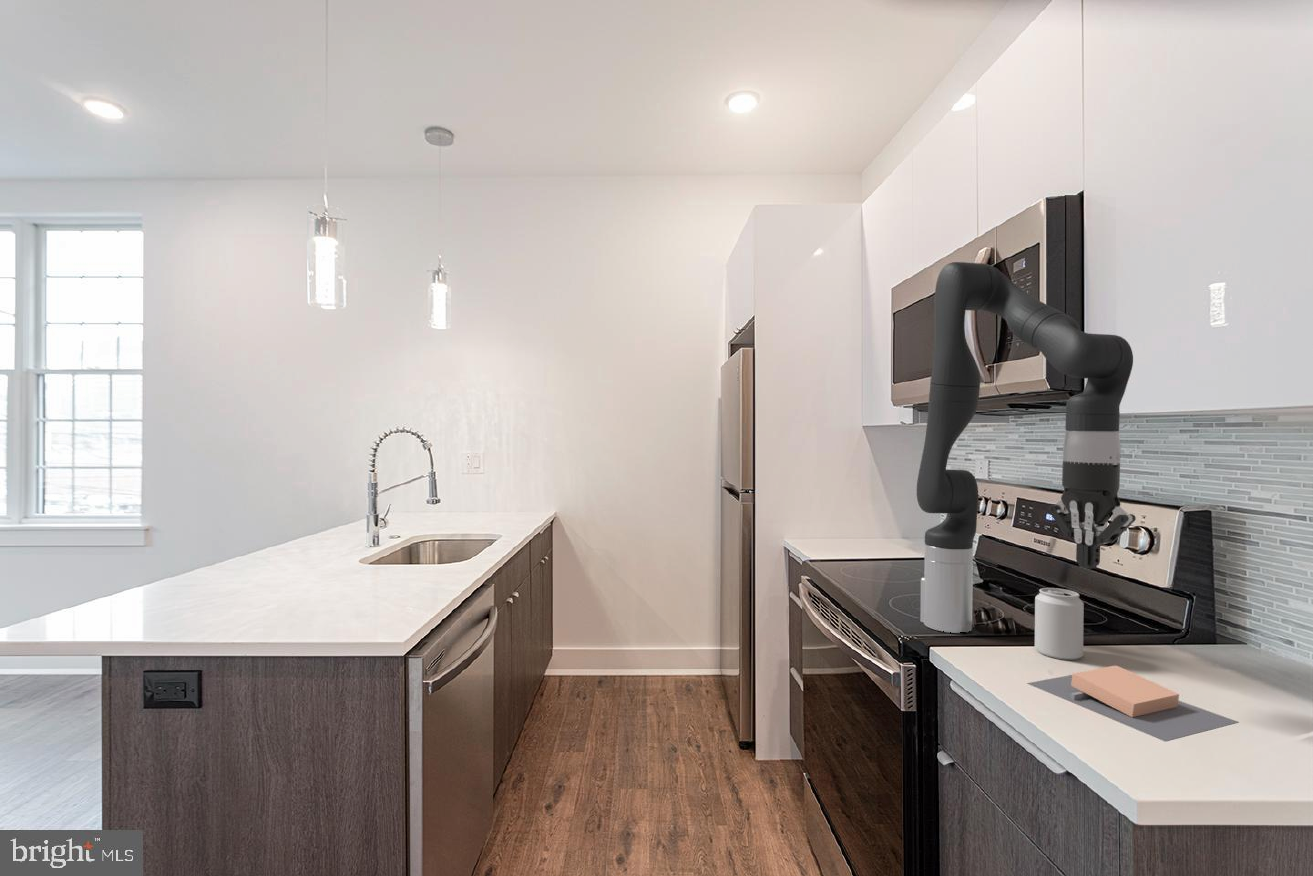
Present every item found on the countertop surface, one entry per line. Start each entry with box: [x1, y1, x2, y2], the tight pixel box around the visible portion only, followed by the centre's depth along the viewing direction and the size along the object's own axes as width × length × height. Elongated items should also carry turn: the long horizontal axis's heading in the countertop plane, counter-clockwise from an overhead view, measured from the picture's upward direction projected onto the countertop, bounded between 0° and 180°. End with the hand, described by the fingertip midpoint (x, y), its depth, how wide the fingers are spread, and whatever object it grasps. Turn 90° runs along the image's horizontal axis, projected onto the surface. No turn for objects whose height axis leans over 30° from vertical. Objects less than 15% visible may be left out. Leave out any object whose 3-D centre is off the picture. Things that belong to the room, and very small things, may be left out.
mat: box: [1026, 674, 1239, 742], centre depth 94 cm, size 20×16×1 cm
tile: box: [1071, 665, 1180, 717], centre depth 94 cm, size 2×10×9 cm
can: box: [1034, 587, 1085, 661], centre depth 114 cm, size 8×8×12 cm
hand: (1087, 567), depth 99 cm, fingers closed
